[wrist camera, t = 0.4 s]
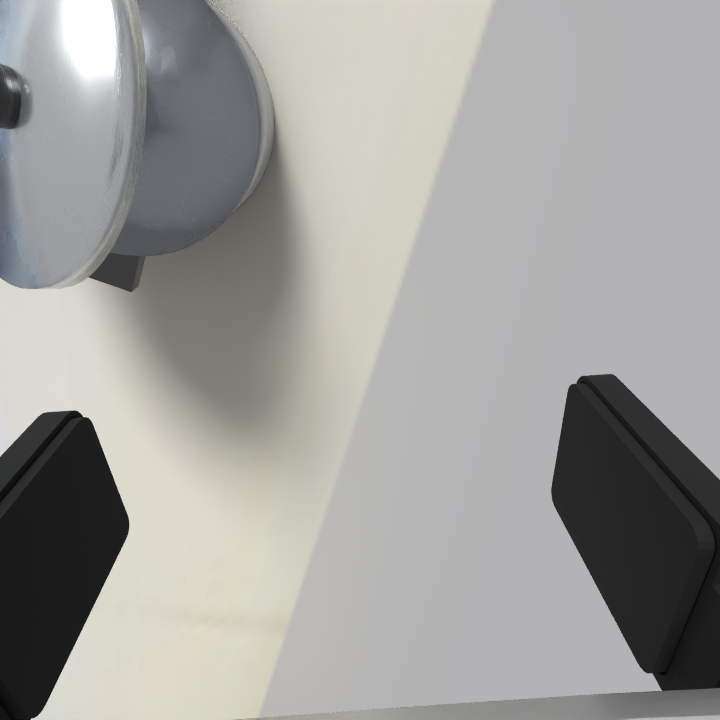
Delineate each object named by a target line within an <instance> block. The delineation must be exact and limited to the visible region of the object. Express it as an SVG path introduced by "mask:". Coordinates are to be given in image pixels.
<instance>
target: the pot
mask: <svg viewBox="0 0 720 720" xmlns="http://www.w3.org/2000/svg"><path fill="white" fill-rule="evenodd" d="M137 4H138V9H139V14H140V19H141V24H142V33H143V41H144V49H145V61H146V81H147V98H146V124H145V134H144V145H143V152H142V158H141V164H140V170H139V176H138V180H137V184H136V188H135V192H134V195H133V199H132V203H131V206H130V209H129V211H128V214H127V217H126V220H125V223H124V225H123V228H122V230H121V232H120V234H119V236H118V238H117V240H116V242H115V244H114V246H113V247H112V249H111V251H110V252H109V254H108V255H107V257H106V258H105V260H104V261H103V262H102V263H101V265H100V266H99V267H98V268H97V269H96V270H95V272H94V273H92V274H91V275H90V276H89V277H90V278H93V279H95V280H98V281H101V282H104V283H107V284H110V285H113V286H115V287H118V288H121V289H124V290H127V291H130V292H132V291H134V290H135V289H136V288H137V287H138V285H139V281H140V277H141V273H142V268H143V264H144V260H145V256H151V255H161V254H165V253H170V252H175V251H177V250H180V249H183V248H186V247H189V246H191V245H192V244H194V243H196V242H198V241H200V240H202V239H203V238H205V237H206V236H208V235H209V234H210V233H212V232H213V231H214V230H216V229H217V228H218V227H219V226H220V225H221V224H222V223H223V222H224V221H225V220H226V219H227V218H228V217H229V216H230V215H231V214H232V213H233V212H234V211H235V210H236V209H237V208H238V207H239V206H240V205H241V204H242V203H243V202H244V201H245V200H246V199H247V198H248V197H249V196H250V195H251V194H252V192H253V191H254V190H255V188H256V187H257V186H258V184H259V182H260V180H261V179H262V177H263V175H264V173H265V171H266V168H267V165H268V163H269V160H270V156H271V152H272V148H273V141H274V109H273V101H272V97H271V93H270V89H269V85H268V82H267V79H266V77H265V74H264V71H263V69H262V67H261V65H260V63H259V61H258V59H257V57H256V55H255V53H254V51H253V50H252V48H251V47H250V45H249V44H248V42H247V41H246V39H245V38H244V37H243V35H242V34H241V33H240V32H239V31H238V29H237V28H236V27H235V26H234V25H233V24H232V23H231V22H230V21H229V20H228V19H227V18H226V17H225V16H224V15H223V14H222V13H221V12H220V11H218V10H217V9H216V8H215V7H214V6H213V5H212V4H210V3H209V2H208V1H207V0H137Z"/></svg>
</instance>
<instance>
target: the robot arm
mask: <svg viewBox="0 0 720 720" xmlns="http://www.w3.org/2000/svg"><path fill="white" fill-rule="evenodd" d="M551 492H552V500H553V503H554V506H555V508H556V510H557V512H558V514H559V516H560V517H561V519H562V521H563V523H564V525H565V527H566V529H567V531H568V533H569V535H570V536H571V538H572V540H573V542H574V544H575V546H576V548H577V550H578V551H579V553H580V555H581V557H582V559H583V561H584V563H585V565H586V566H587V568H588V570H589V572H590V574H591V576H592V578H593V580H594V582H595V584H596V585H597V587H598V589H599V591H600V593H601V595H602V597H603V599H604V600H605V602H606V604H607V606H608V608H609V610H610V612H611V614H612V616H613V617H614V619H615V621H616V623H617V625H618V627H619V628H620V631H621V632H622V634H623V636H624V638H625V640H626V642H627V644H628V645H629V647H630V649H631V651H632V653H633V655H634V657H635V659H636V661H637V662H638V664H639V666H640V667H641V668H642V669H643V671H644V672H646V673H653V675H654V677H655V678H656V680H657V682H658V684H659V686H660V688H661V690H662V691H653V692H631V693H612V694H594V695H580V696H565V697H550V698H534V699H519V700H504V701H490V702H476V703H475V702H474V703H461V704H460V703H459V704H445V705H430V706H415V707H401V708H388V709H373V710H360V711H347V712H332V713H319V714H304V715H290V716H278V717H263V718H250V719H236V720H720V480H719V479H718V478H717V477H716V476H715V475H714V474H713V473H712V472H711V471H710V470H709V469H708V468H707V467H706V466H705V465H704V464H703V463H702V462H701V461H700V460H699V459H698V458H697V457H696V456H695V455H694V454H693V453H692V452H691V451H690V450H689V449H688V448H687V447H686V446H685V445H684V444H683V443H682V442H681V441H680V440H679V439H678V438H677V437H676V436H675V435H674V434H673V433H672V432H671V431H670V430H669V429H668V428H667V427H666V426H665V425H664V424H663V423H662V422H661V421H660V420H659V419H658V418H657V417H656V416H655V415H654V414H653V413H652V412H651V411H650V410H649V409H648V408H647V407H646V406H645V405H644V404H643V403H642V402H641V401H640V400H639V399H638V398H637V397H636V396H635V395H634V394H633V393H632V392H631V391H630V390H629V389H628V388H627V387H626V386H625V385H624V384H623V383H622V382H621V381H620V380H619V379H618V378H617V377H616V376H614V375H612V374H605V375H590V376H582V377H580V378H579V379H578V381H577V384H572V385H570V387H569V389H568V394H567V399H566V405H565V411H564V417H563V423H562V429H561V435H560V440H559V446H558V452H557V458H556V464H555V470H554V476H553V482H552V489H551ZM128 532H129V518H128V515H127V513H126V510H125V507H124V505H123V502H122V499H121V497H120V494H119V492H118V489H117V486H116V484H115V481H114V478H113V476H112V473H111V471H110V468H109V465H108V463H107V460H106V458H105V455H104V452H103V450H102V447H101V444H100V442H99V439H98V437H97V434H96V431H95V429H94V426H93V424H92V422H91V420H90V419H89V418H86V417H83V416H82V415H81V414H80V413H79V412H78V411H61V412H47V413H43V414H41V415H40V416H39V417H38V418H37V419H36V420H35V421H34V422H33V423H32V424H31V425H30V426H29V427H28V428H27V429H26V430H25V431H24V432H23V433H22V434H21V436H20V437H19V438H18V439H17V440H16V441H15V442H14V443H13V444H12V445H11V446H10V447H9V448H8V449H7V450H6V451H5V452H4V453H3V454H2V456H1V457H0V720H31V718H35V717H36V716H38V715H39V714H40V712H41V711H42V710H43V708H44V706H45V705H46V703H47V701H48V699H49V697H50V695H51V692H52V690H53V688H54V686H55V684H56V682H57V680H58V678H59V676H60V674H61V672H62V670H63V668H64V666H65V664H66V662H67V660H68V657H69V655H70V653H71V651H72V649H73V647H74V645H75V643H76V641H77V639H78V637H79V635H80V633H81V631H82V629H83V627H84V624H85V622H86V620H87V618H88V616H89V614H90V612H91V610H92V608H93V606H94V604H95V602H96V600H97V598H98V596H99V594H100V592H101V589H102V587H103V585H104V583H105V581H106V579H107V577H108V575H109V573H110V571H111V569H112V567H113V565H114V563H115V561H116V559H117V556H118V554H119V552H120V550H121V548H122V546H123V544H124V542H125V540H126V538H127V535H128Z"/></svg>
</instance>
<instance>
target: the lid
mask: <svg viewBox="0 0 720 720" xmlns="http://www.w3.org/2000/svg"><path fill="white" fill-rule="evenodd" d="M146 98H147V81H146V61H145V49H144V41H143V33H142V24H141V19H140V14H139V9H138V4H137V0H0V278H2V279H3V280H5V281H6V282H8V283H9V284H11V285H14V286H17V287H19V288H26V289H61V288H66V287H71V286H73V285H76V284H78V283H80V282H82V281H83V280H85V279H86V278H87V277H89V276H90V275H91V274H92V273H94V272H95V270H96V269H97V268H98V267H99V266H100V265H101V263H102V262H103V261H104V260H105V258H106V257H107V255H108V254H109V252H110V251H111V249H112V247H113V246H114V244H115V242H116V240H117V238H118V236H119V234H120V232H121V230H122V228H123V225H124V223H125V220H126V217H127V214H128V211H129V209H130V206H131V203H132V199H133V195H134V192H135V188H136V184H137V180H138V176H139V170H140V164H141V158H142V152H143V145H144V134H145V124H146Z"/></svg>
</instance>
